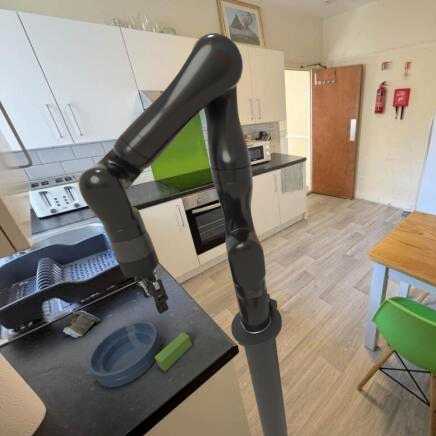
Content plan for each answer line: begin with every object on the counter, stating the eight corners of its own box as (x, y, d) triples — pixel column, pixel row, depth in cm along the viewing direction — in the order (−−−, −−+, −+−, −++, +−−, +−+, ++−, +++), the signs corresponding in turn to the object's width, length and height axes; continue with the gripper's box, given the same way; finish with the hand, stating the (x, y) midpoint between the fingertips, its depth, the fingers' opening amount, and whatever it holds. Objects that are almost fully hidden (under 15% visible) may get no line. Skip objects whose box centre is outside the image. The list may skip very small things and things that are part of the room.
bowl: (143, 325, 79) (137, 314, 76) (173, 347, 71) (168, 335, 69) (86, 369, 66) (77, 356, 64) (115, 401, 59) (106, 388, 56)
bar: (186, 340, 73) (182, 331, 71) (192, 344, 72) (189, 335, 70) (158, 366, 66) (154, 357, 64) (165, 371, 65) (160, 362, 63)
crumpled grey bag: (54, 333, 79) (51, 326, 71) (73, 312, 83) (71, 304, 75) (84, 344, 81) (83, 340, 73) (100, 324, 86) (102, 317, 78)
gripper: (165, 253, 53) (183, 307, 60) (140, 235, 61) (159, 283, 68) (128, 271, 48) (153, 327, 55) (106, 248, 56) (130, 299, 63)
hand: (156, 303), depth 61 cm, fingers open, 8 cm apart
